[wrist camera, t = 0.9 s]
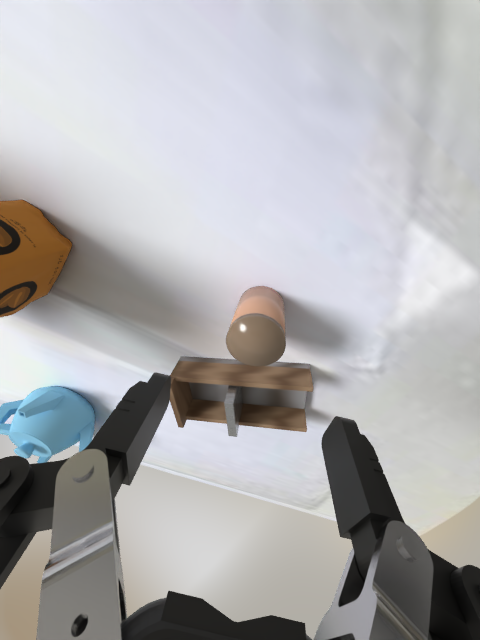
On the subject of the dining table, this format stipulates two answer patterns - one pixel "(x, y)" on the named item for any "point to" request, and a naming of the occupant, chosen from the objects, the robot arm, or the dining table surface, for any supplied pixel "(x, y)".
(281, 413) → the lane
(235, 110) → the dining table surface
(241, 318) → the jar
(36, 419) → the teapot
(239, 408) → the plate
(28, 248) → the coffee package
